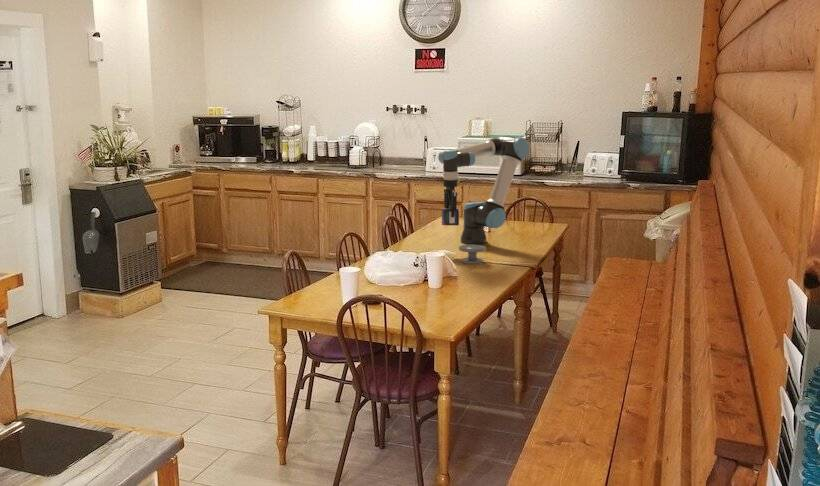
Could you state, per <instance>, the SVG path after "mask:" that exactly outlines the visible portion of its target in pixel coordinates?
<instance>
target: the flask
mask: <svg viewBox="0 0 820 486" xmlns="http://www.w3.org/2000/svg"><path fill="white" fill-rule="evenodd" d="M449 210H450V206H449V208H448V209H447V208H445V207H444V208H441V226H456V227H457V226H459V225H460V216H459V215H460V210H459V208H458V207H457V210H455V223H449V212H450V211H449Z"/></svg>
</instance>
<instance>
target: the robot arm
mask: <svg viewBox="0 0 820 486" xmlns="http://www.w3.org/2000/svg"><path fill="white" fill-rule="evenodd" d="M529 153H530V144H529V142H528V140H527V139H526V138H524V137H521V136H508V135H502V136H498V137H493V138H489V139H486V140H485V141H484V142H481V143H476V144H473V145H472V144H471V145H468V146H463V147H460V148H455V149H445V150H440V152H439V153H438V155H437V157H438V158H437V159H438V161H439V163H440V164H442V165H443V173H442V175H443V177H442V178H443V181H442V182H443V183H442V184H443V187H445V189H443V194H444V195H443V204H444V205H443V207H444V208H447V209H448V208H449V206H450V210H449V211H450V212H449V223H455V210H457V208H458V207H457V206H458V204H457V198H458V197H457V196H458V192H456V190H455V188H457V187H458V177H459V176H458V175H459V174H458V173H459V171H458V169H459V168H462V167H463V168H464V167H470V166H471V167H472V166H474V164H475V163H476V159H479V158H482V157H485V156H488V157H494V156H498V157H500V156H501V159H502V162H501V165H500V167H499V170H498V172H497V176H496V179H495V181H494V184H493V187H492V189H491V193H490V195H489V199H486V200H485V202H484V201H473V202H466V203H465V204H464V205H463V230H462V233H461V235H460V243H463V244H466V245H480V244H481V245H482V244H485V243H487V235H486V231H485V228H490V229H499V228H500V227H502V226H503V225H504V223H506V222H505V221H506V219H507V213H506V210H505V208H506V207H505V205H504V203H505V201H506V198H507V195H508V193H509V190H510V186H511V184H512V181H513V178H514V175H515V173H516V169H517V166H518V165H520V164H521V163H522V161H523V160H524V159H526V158H527V157H528V155H529Z"/></svg>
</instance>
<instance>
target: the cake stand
mask: <svg viewBox="0 0 820 486" xmlns="http://www.w3.org/2000/svg"><path fill="white" fill-rule="evenodd" d="M458 250H459V251H460V252H464V253H467V257H463V258H461V263H463V264H465V265H467V264H468V265H479V264H482V263H483V262H484V259H483V258H481V257H477V255H478V254H477V253H483V252H486V251H487V247H486V246H485V245H482V244H481V245H480V244H462V245H460V246H458Z"/></svg>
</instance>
